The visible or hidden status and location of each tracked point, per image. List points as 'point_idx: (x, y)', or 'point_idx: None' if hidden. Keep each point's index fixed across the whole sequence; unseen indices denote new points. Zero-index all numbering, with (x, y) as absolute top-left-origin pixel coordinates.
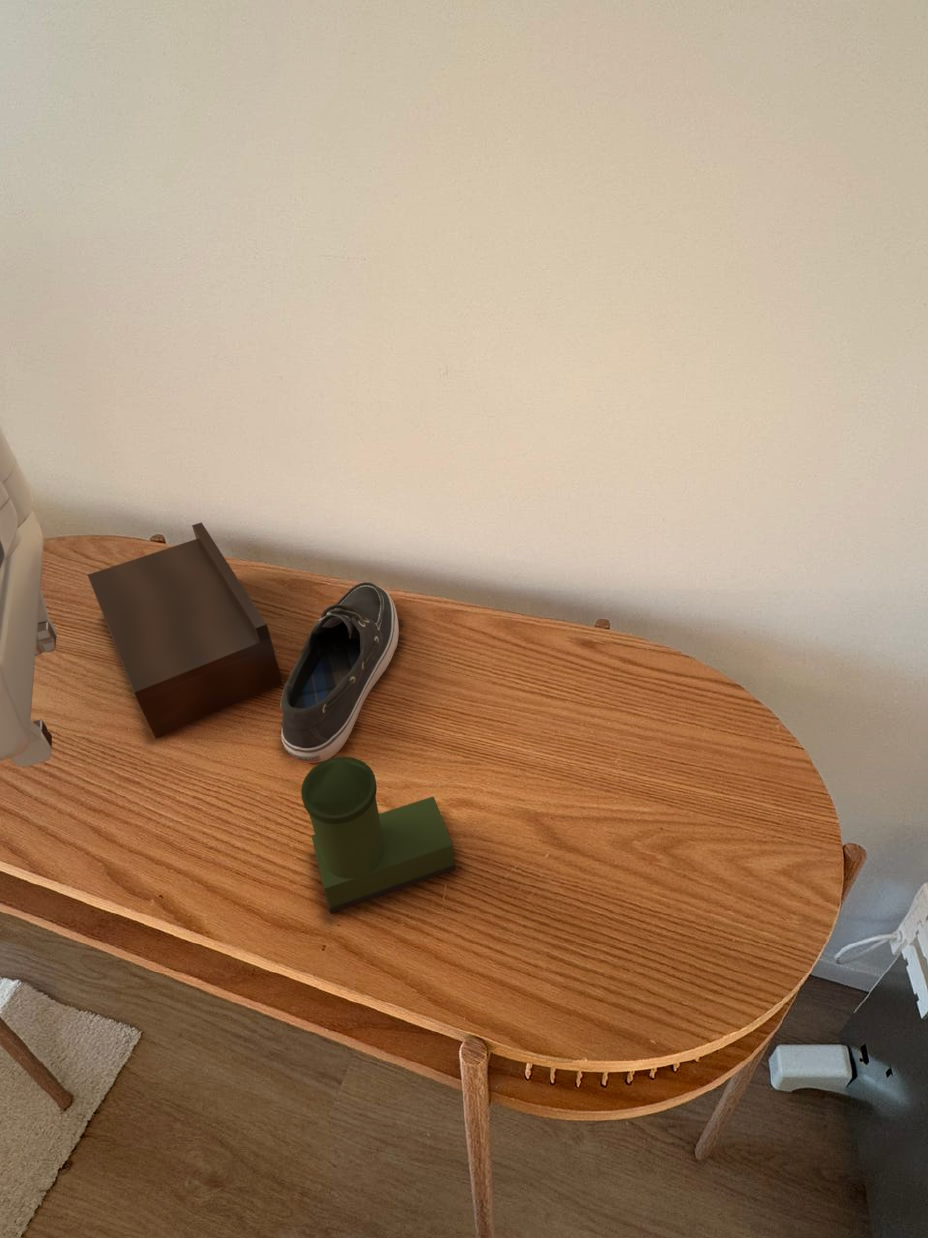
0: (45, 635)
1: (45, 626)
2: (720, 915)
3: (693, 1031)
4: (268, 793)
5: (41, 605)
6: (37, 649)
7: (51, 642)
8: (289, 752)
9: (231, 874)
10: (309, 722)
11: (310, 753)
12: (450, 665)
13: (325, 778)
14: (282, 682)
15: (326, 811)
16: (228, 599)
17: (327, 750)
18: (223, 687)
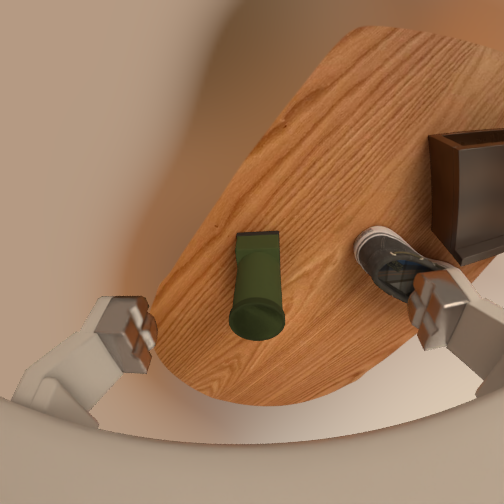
0: (421, 335)
1: (434, 346)
2: (197, 368)
3: (155, 345)
4: (345, 207)
5: (469, 365)
6: (418, 294)
7: (414, 321)
8: (366, 232)
9: (286, 175)
10: (369, 268)
11: (357, 247)
12: (385, 322)
13: (266, 317)
14: (432, 231)
15: (237, 314)
16: (500, 233)
17: (355, 256)
18: (442, 201)
